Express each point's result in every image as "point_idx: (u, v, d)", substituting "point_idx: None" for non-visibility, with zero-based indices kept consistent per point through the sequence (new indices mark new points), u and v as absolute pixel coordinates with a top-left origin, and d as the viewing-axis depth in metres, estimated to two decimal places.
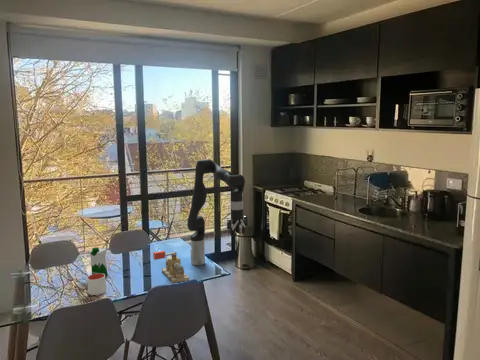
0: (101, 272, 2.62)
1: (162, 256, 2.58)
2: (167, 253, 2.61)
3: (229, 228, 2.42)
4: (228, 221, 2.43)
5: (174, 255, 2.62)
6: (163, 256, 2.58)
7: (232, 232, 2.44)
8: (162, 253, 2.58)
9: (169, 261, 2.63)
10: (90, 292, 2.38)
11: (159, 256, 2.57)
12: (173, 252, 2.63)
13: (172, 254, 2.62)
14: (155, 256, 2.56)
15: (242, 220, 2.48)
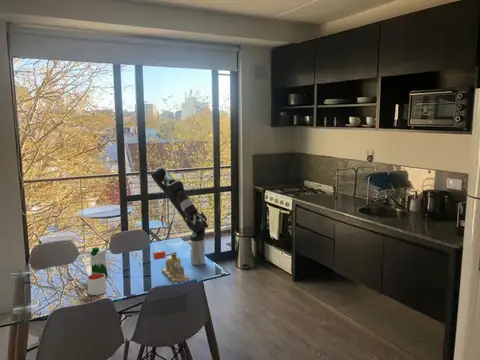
0: (101, 272, 2.62)
1: (162, 256, 2.58)
2: (167, 253, 2.61)
3: (190, 223, 2.45)
4: (186, 219, 2.47)
5: (174, 255, 2.62)
6: (163, 256, 2.58)
7: (195, 226, 2.46)
8: (162, 253, 2.58)
9: (169, 261, 2.63)
10: (90, 292, 2.38)
11: (159, 256, 2.57)
12: (173, 252, 2.63)
13: (172, 254, 2.62)
14: (155, 256, 2.56)
15: (199, 215, 2.54)
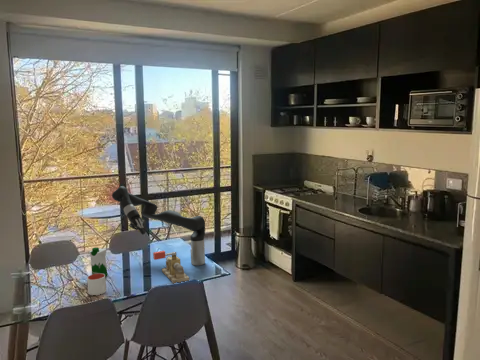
0: (101, 272, 2.62)
1: (162, 256, 2.58)
2: (167, 253, 2.61)
3: (137, 227, 2.65)
4: (130, 225, 2.64)
5: (174, 255, 2.62)
6: (163, 256, 2.58)
7: (141, 230, 2.66)
8: (162, 253, 2.58)
9: (169, 261, 2.63)
10: (90, 292, 2.38)
11: (159, 256, 2.57)
12: (173, 252, 2.63)
13: (172, 254, 2.62)
14: (155, 256, 2.56)
15: (141, 221, 2.70)
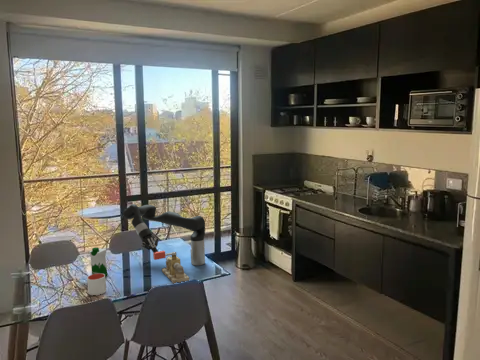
0: (101, 272, 2.62)
1: (162, 256, 2.58)
2: (167, 253, 2.61)
3: (149, 247, 2.58)
4: (143, 245, 2.58)
5: (174, 255, 2.62)
6: (163, 256, 2.58)
7: (154, 249, 2.59)
8: (162, 253, 2.58)
9: (169, 261, 2.63)
10: (90, 292, 2.38)
11: (159, 256, 2.57)
12: (173, 252, 2.63)
13: (172, 254, 2.62)
14: (155, 256, 2.56)
15: (153, 240, 2.64)
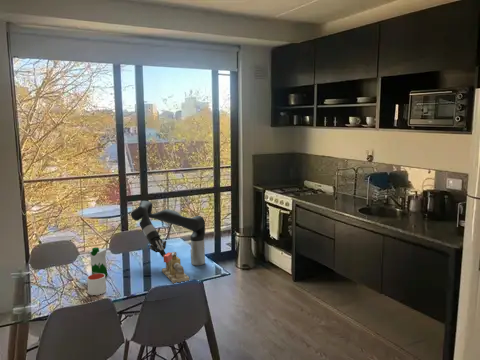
0: (101, 272, 2.62)
1: (171, 257, 2.55)
2: None
3: (157, 250, 2.52)
4: (150, 247, 2.52)
5: (176, 254, 2.62)
6: (171, 257, 2.56)
7: (161, 252, 2.53)
8: (171, 255, 2.55)
9: (169, 261, 2.63)
10: (90, 292, 2.38)
11: (169, 258, 2.53)
12: (173, 252, 2.63)
13: (174, 254, 2.61)
14: (168, 259, 2.51)
15: (161, 243, 2.58)
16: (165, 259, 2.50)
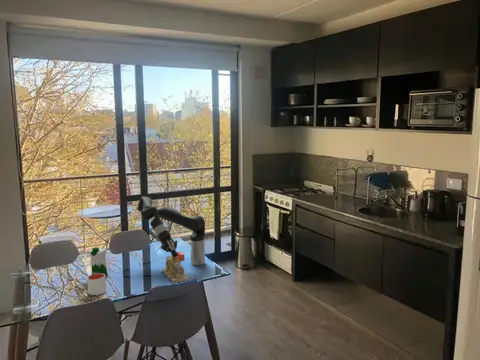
0: (101, 272, 2.62)
1: None
2: None
3: (168, 249, 2.52)
4: (162, 247, 2.52)
5: None
6: None
7: (173, 252, 2.53)
8: None
9: (169, 261, 2.63)
10: (90, 292, 2.38)
11: None
12: None
13: None
14: None
15: (172, 243, 2.58)
16: (182, 258, 2.52)
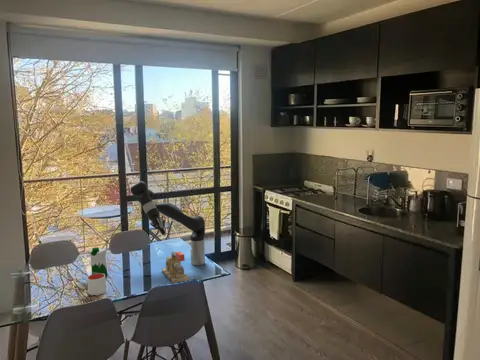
0: (101, 272, 2.62)
1: None
2: (175, 254, 2.59)
3: (158, 227, 2.51)
4: (152, 224, 2.50)
5: None
6: None
7: (162, 230, 2.52)
8: None
9: (169, 261, 2.63)
10: (90, 292, 2.38)
11: None
12: (173, 252, 2.63)
13: (176, 253, 2.62)
14: None
15: (161, 221, 2.57)
16: (182, 258, 2.52)
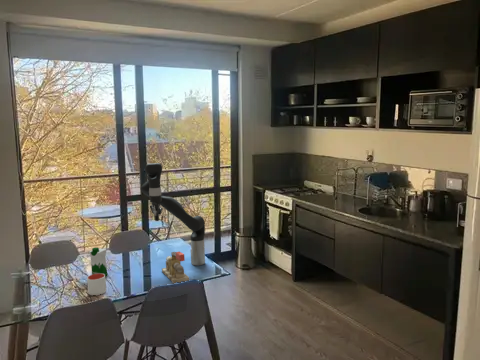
0: (101, 272, 2.62)
1: None
2: (175, 254, 2.59)
3: None
4: (160, 210, 2.61)
5: None
6: None
7: None
8: None
9: (169, 261, 2.63)
10: (90, 292, 2.38)
11: None
12: (173, 252, 2.63)
13: (176, 253, 2.62)
14: None
15: None
16: (182, 258, 2.52)
